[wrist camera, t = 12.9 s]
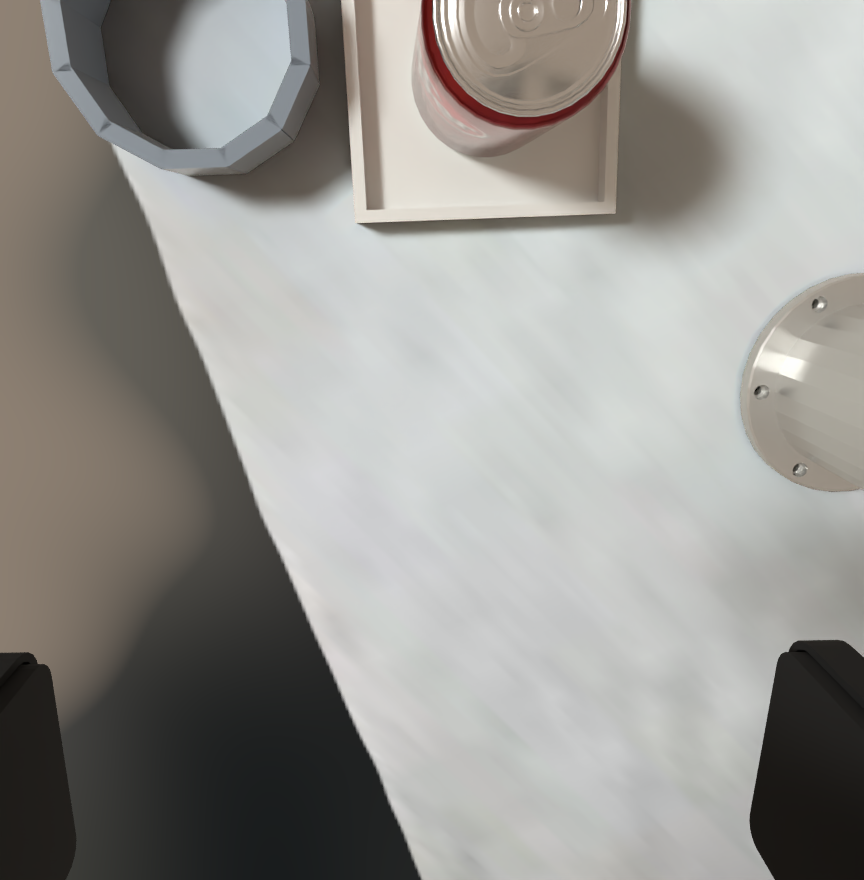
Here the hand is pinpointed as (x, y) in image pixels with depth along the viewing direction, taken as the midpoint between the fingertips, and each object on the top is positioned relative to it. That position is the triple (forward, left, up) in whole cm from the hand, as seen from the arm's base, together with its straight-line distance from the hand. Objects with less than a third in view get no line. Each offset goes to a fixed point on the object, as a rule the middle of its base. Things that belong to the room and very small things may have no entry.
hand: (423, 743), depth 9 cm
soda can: (-5, -13, -31) cm, 34 cm away
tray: (-5, -13, -32) cm, 35 cm away
